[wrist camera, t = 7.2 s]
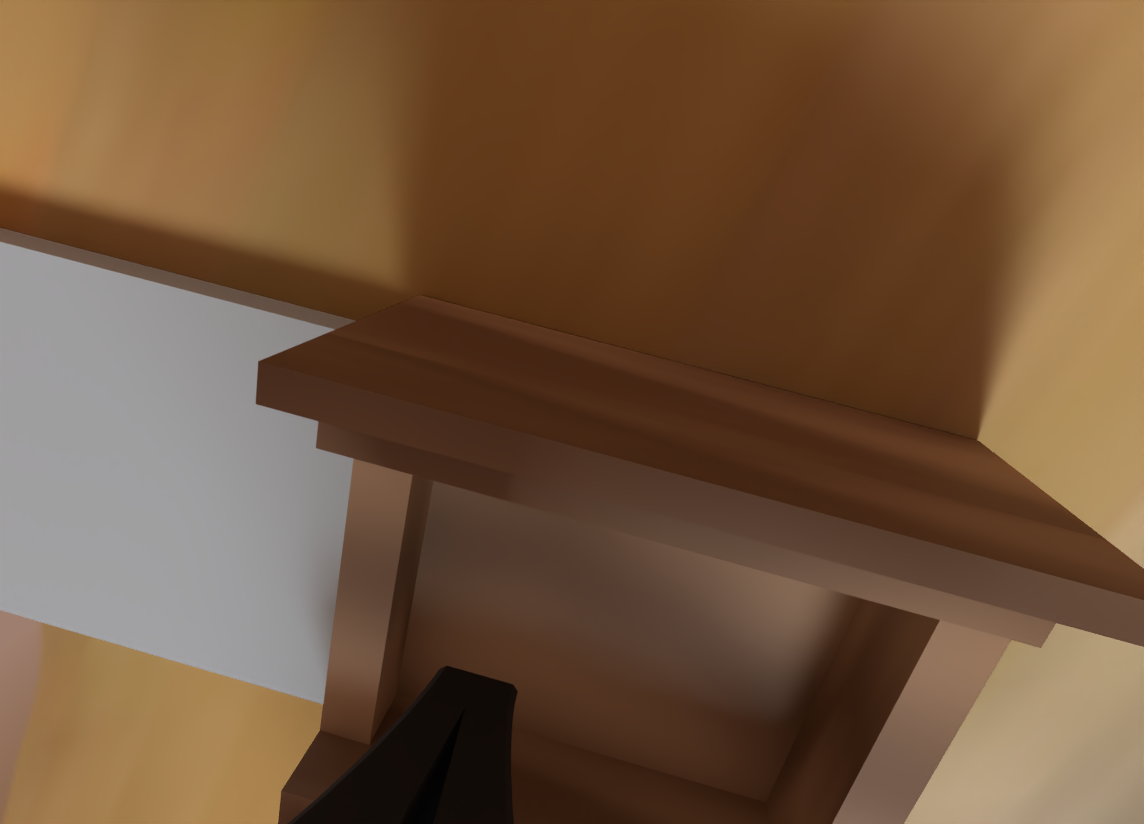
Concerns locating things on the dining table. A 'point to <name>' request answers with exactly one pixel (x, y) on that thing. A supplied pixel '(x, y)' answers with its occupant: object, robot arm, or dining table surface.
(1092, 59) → the dining table surface
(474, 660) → the case
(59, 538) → the lid
